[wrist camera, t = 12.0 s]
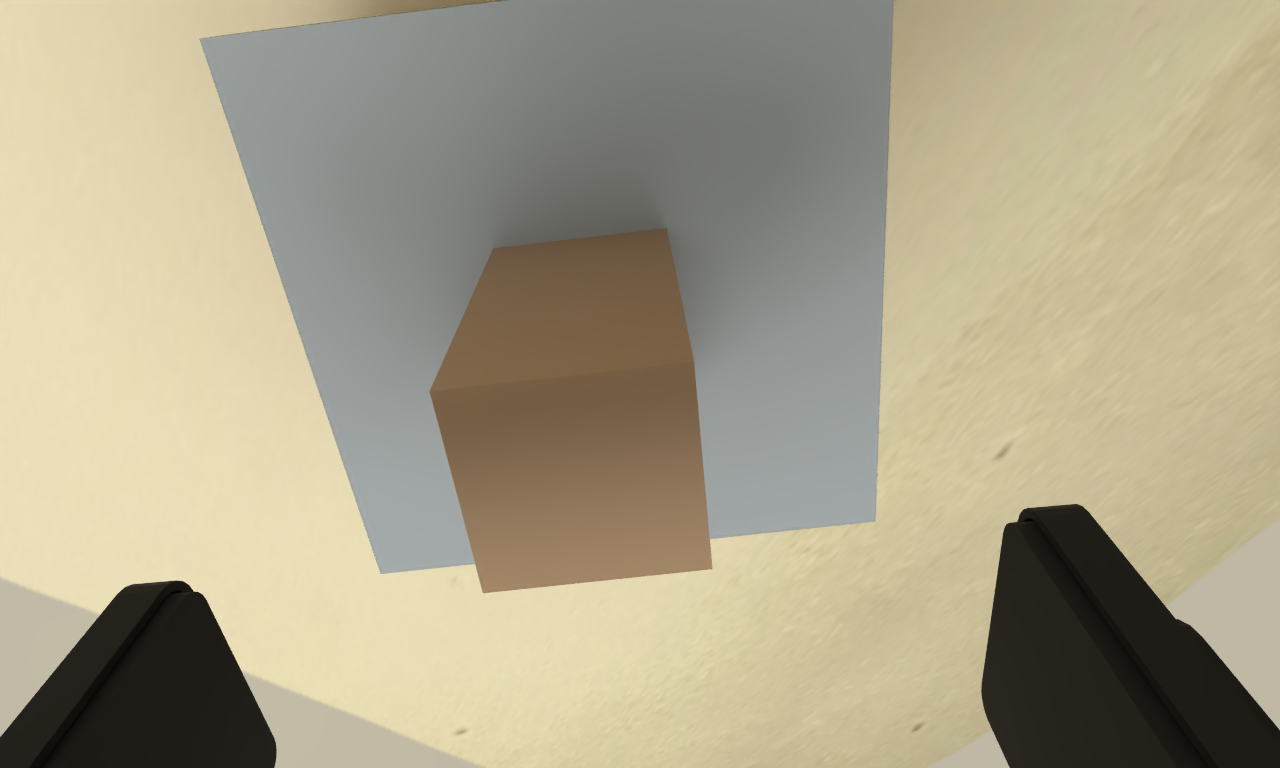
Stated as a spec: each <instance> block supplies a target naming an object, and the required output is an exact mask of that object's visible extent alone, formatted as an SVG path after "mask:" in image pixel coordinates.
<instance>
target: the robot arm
mask: <svg viewBox="0 0 1280 768" xmlns="http://www.w3.org/2000/svg"><path fill="white" fill-rule="evenodd" d="M981 691H982V700H983V706H984V710H985V713H986V716H987V719H988V721H989V723H990V726H991V728H992V730H993V732H994V734H995V736H996V739H997V741H998V743H999V745H1000V747H1001V749H1002V752H1003V754H1004V756H1005V758H1006V760H1007V763H1008V765H1009V767H1010V768H1280V730H1279V729H1278V728H1277V726H1276V725H1275V724H1274V723H1273V721H1272V720H1271V719H1270V718H1269V717H1268V715H1267V714H1266V713H1265V712H1264V711H1263V709H1262V708H1261V707H1260V706H1259V705H1258V703H1257V702H1256V701H1255V700H1254V699H1253V697H1252V696H1251V695H1250V694H1249V693H1248V691H1247V690H1246V689H1245V688H1244V687H1243V685H1242V684H1241V683H1240V682H1239V681H1238V679H1237V678H1236V677H1235V676H1234V675H1233V674H1232V672H1231V671H1230V670H1229V668H1228V667H1227V666H1226V665H1225V664H1224V662H1223V661H1222V660H1221V659H1220V658H1219V656H1218V655H1217V654H1216V653H1215V652H1214V650H1213V649H1212V648H1211V647H1210V646H1209V645H1208V643H1207V642H1206V641H1205V640H1204V638H1203V637H1202V636H1200V634H1199V633H1198V632H1196V631H1195V630H1194V629H1193V628H1192V627H1191V626H1190V625H1188V624H1186V623H1184V622H1182V621H1180V620H1178V619H1175V618H1174V616H1173V615H1172V614H1171V613H1170V611H1169V610H1168V609H1167V608H1166V607H1165V605H1164V604H1163V603H1162V602H1161V600H1160V599H1159V598H1158V597H1157V595H1156V594H1155V593H1154V592H1153V591H1152V589H1151V588H1150V587H1149V586H1148V584H1147V583H1146V582H1145V581H1144V579H1143V578H1142V577H1141V576H1140V575H1139V573H1138V572H1137V571H1136V570H1135V568H1134V567H1133V566H1132V565H1131V564H1130V562H1129V561H1128V560H1127V559H1126V557H1125V556H1124V555H1123V554H1122V552H1121V551H1120V550H1119V549H1118V548H1117V546H1116V545H1115V544H1114V543H1113V541H1112V540H1111V539H1110V538H1109V536H1108V535H1107V534H1106V533H1105V532H1104V530H1103V529H1102V528H1101V527H1100V525H1099V524H1098V523H1097V522H1096V520H1095V519H1094V518H1093V517H1092V516H1091V514H1090V513H1089V512H1088V511H1087V510H1086V509H1085V508H1084V507H1083V506H1080V505H1077V504H1071V505H1059V506H1048V507H1036V508H1027V509H1024V510H1023V511H1022V512H1021V513H1020V515H1019V519H1018V522H1014V523H1008V524H1007V525H1006V526H1005V529H1004V532H1003V539H1002V546H1001V553H1000V560H999V567H998V574H997V581H996V588H995V595H994V602H993V609H992V616H991V623H990V630H989V637H988V644H987V651H986V658H985V665H984V672H983V679H982V690H981ZM275 762H276V743H275V739H274V737H273V735H272V733H271V731H270V729H269V727H268V724H267V722H266V720H265V718H264V717H263V714H262V712H261V710H260V708H259V706H258V704H257V702H256V700H255V698H254V696H253V694H252V692H251V690H250V688H249V686H248V684H247V682H246V680H245V678H244V676H243V674H242V672H241V669H240V667H239V665H238V663H237V661H236V659H235V657H234V655H233V653H232V651H231V649H230V647H229V645H228V643H227V641H226V639H225V637H224V635H223V633H222V631H221V629H220V627H219V625H218V623H217V621H216V619H215V617H214V615H213V612H212V610H211V608H210V606H209V604H208V602H207V600H206V599H205V597H204V596H203V595H202V594H201V593H199V592H194V591H193V590H192V589H191V587H190V586H189V585H188V584H186V583H185V582H183V581H167V582H155V583H143V584H132V585H130V586H127V587H125V588H124V589H123V590H121V591H120V592H119V593H118V594H117V595H116V596H115V598H114V599H113V600H112V601H111V603H110V604H109V605H108V606H107V607H106V609H105V610H104V611H103V612H102V614H101V615H100V616H99V617H98V618H97V620H96V621H95V622H94V623H93V625H92V626H91V627H90V628H89V629H88V631H87V632H86V633H85V635H84V636H83V637H82V638H81V639H80V640H79V642H78V643H77V644H76V645H75V647H74V648H73V649H72V650H71V651H70V653H69V654H68V655H67V656H66V658H65V659H64V660H63V661H62V662H61V664H60V665H59V666H58V667H57V669H56V670H55V671H54V672H53V673H52V675H51V676H50V677H49V678H48V680H47V681H46V682H45V683H44V685H43V686H42V687H41V688H40V689H39V691H38V692H37V693H36V694H35V696H34V697H33V698H32V699H31V700H30V702H29V703H28V704H27V705H26V706H25V708H24V709H23V710H22V712H21V713H20V714H19V715H18V716H17V718H16V719H15V720H14V721H13V722H12V724H11V725H10V726H9V727H8V728H7V730H6V731H5V732H4V733H3V735H2V736H1V737H0V768H274V767H275Z"/></svg>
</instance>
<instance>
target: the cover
mask: <svg viewBox="0 0 1280 768" xmlns="http://www.w3.org/2000/svg"><path fill="white" fill-rule="evenodd" d="M892 23H893V0H502V1H494V2H486V3H478V4H470V5H462V6H454V7H446V8H438V9H430V10H422V11H414V12H406V13H398V14H390V15H382V16H374V17H366V18H358V19H350V20H342V21H334V22H326V23H317V24H309V25H301V26H293V27H285V28H277V29H269V30H261V31H253V32H245V33H237V34H229V35H222V36H215V37H209V38H202V39H200V42H201V44H202V47H203V50H204V53H205V56H206V59H207V62H208V65H209V68H210V71H211V74H212V77H213V80H214V83H215V86H216V89H217V92H218V95H219V98H220V101H221V104H222V107H223V109H224V112H225V115H226V118H227V121H228V124H229V127H230V130H231V133H232V136H233V139H234V142H235V145H236V148H237V151H238V154H239V157H240V160H241V163H242V166H243V169H244V172H245V174H246V177H247V180H248V183H249V186H250V189H251V192H252V195H253V198H254V201H255V204H256V207H257V210H258V213H259V216H260V219H261V222H262V225H263V228H264V231H265V234H266V237H267V239H268V242H269V245H270V248H271V251H272V254H273V257H274V260H275V263H276V266H277V269H278V272H279V275H280V278H281V281H282V284H283V287H284V290H285V293H286V296H287V299H288V302H289V304H290V307H291V310H292V313H293V316H294V319H295V322H296V325H297V328H298V331H299V334H300V337H301V340H302V343H303V346H304V349H305V352H306V355H307V358H308V361H309V364H310V367H311V369H312V372H313V375H314V378H315V381H316V384H317V387H318V390H319V393H320V396H321V399H322V402H323V405H324V408H325V411H326V414H327V417H328V420H329V423H330V426H331V429H332V432H333V434H334V437H335V440H336V443H337V446H338V449H339V452H340V455H341V458H342V461H343V464H344V467H345V470H346V473H347V476H348V479H349V482H350V485H351V488H352V491H353V494H354V496H355V499H356V502H357V505H358V508H359V511H360V514H361V517H362V520H363V523H364V526H365V529H366V532H367V535H368V538H369V541H370V544H371V547H372V550H373V553H374V556H375V559H376V561H377V564H378V567H379V570H380V573H381V574H384V573H394V572H403V571H413V570H422V569H431V568H441V567H450V566H460V565H469V564H475V565H476V569H477V572H478V576H479V580H480V584H481V587H482V591H483V593H489V592H498V591H508V590H517V589H527V588H536V587H546V586H555V585H565V584H574V583H584V582H593V581H603V580H612V579H622V578H631V577H641V576H651V575H660V574H670V573H679V572H689V571H698V570H708V569H712V560H711V548H710V539H714V538H724V537H733V536H742V535H752V534H761V533H771V532H780V531H790V530H799V529H808V528H818V527H827V526H837V525H846V524H856V523H865V522H874V521H876V493H877V464H878V434H879V405H880V375H881V346H882V317H883V287H884V258H885V229H886V199H887V170H888V141H889V111H890V82H891V53H892Z"/></svg>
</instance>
